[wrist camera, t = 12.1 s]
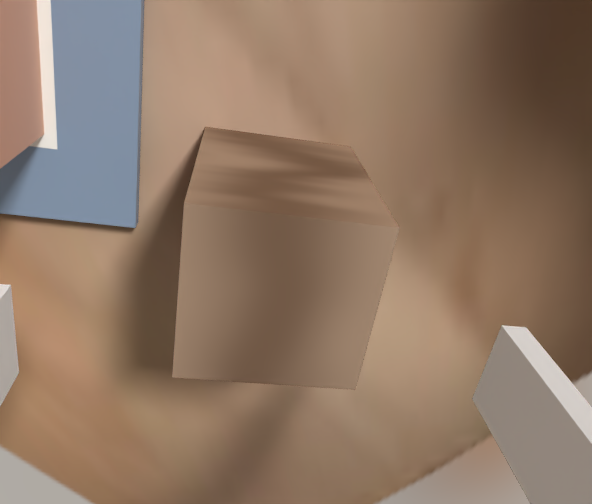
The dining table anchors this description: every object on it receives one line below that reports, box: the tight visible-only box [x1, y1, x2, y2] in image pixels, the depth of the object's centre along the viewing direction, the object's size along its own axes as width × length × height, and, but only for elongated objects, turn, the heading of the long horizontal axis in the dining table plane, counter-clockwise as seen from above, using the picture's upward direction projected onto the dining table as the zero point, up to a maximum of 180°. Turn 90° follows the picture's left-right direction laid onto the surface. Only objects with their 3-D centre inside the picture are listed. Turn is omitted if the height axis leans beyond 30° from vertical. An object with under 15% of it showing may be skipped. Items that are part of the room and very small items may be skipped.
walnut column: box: [172, 127, 399, 390], centre depth 19 cm, size 6×6×8 cm
